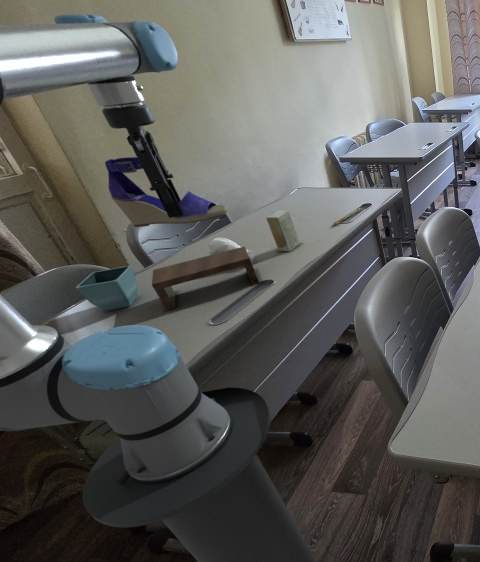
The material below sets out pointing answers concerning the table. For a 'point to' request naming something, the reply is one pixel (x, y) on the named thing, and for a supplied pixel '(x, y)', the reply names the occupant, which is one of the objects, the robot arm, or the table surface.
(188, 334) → the table surface
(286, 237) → the cosmetic box
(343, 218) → the pencil
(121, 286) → the flower pot
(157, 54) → the robot arm
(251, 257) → the white rounded piece
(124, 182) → the sandal
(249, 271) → the shoe shelf
